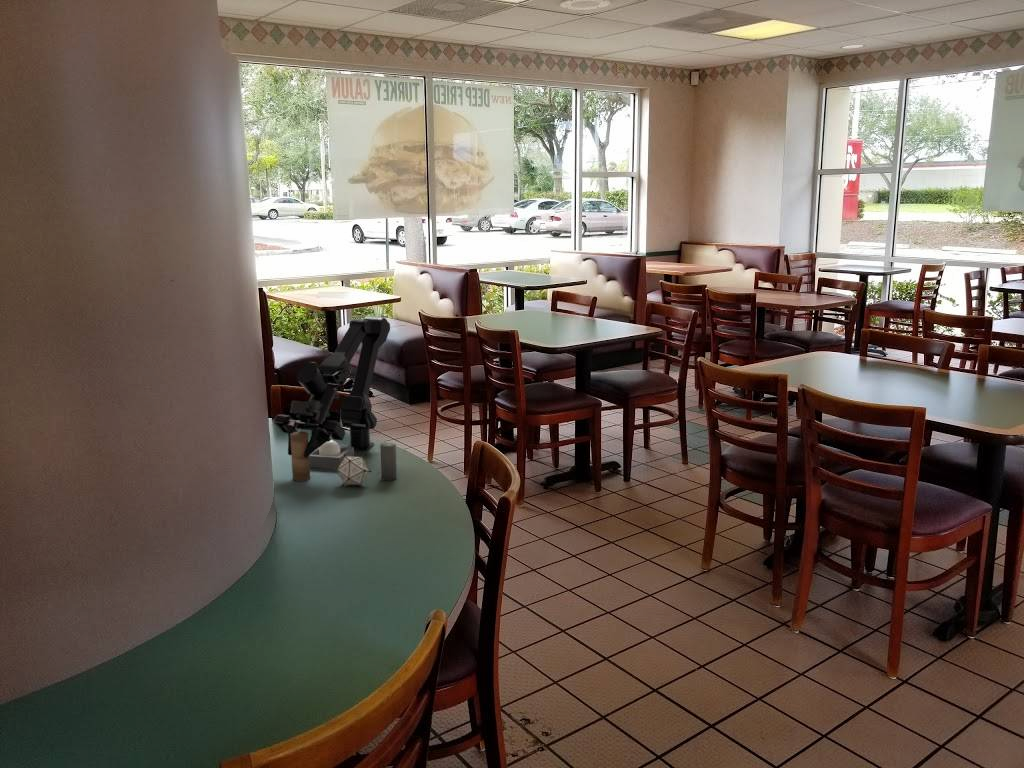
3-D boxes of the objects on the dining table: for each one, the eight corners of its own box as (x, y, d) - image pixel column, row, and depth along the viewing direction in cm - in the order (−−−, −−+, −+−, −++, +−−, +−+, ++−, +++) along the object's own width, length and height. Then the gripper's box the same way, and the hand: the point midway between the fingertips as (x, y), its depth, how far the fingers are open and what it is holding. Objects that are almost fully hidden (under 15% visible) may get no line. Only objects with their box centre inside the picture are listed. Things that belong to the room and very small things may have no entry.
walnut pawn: (297, 475, 217) (294, 431, 215) (313, 476, 216) (310, 432, 214) (289, 480, 213) (287, 435, 210) (305, 482, 212) (303, 436, 210)
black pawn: (384, 475, 218) (383, 442, 216) (398, 476, 217) (397, 443, 215) (379, 480, 214) (377, 446, 212) (393, 481, 213) (392, 447, 211)
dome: (324, 457, 231) (323, 436, 230) (343, 458, 230) (342, 437, 229) (316, 463, 225) (315, 442, 224) (335, 464, 224) (334, 443, 223)
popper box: (320, 455, 233) (319, 444, 233) (354, 458, 232) (353, 447, 231) (305, 466, 224) (304, 455, 223) (340, 469, 222) (339, 457, 221)
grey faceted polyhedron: (346, 498, 211) (328, 464, 213) (376, 483, 214) (358, 449, 216) (346, 492, 203) (328, 457, 205) (378, 476, 206) (359, 441, 207)
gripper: (275, 384, 216) (251, 436, 209) (337, 390, 210) (314, 444, 202) (295, 406, 225) (272, 457, 218) (354, 413, 219) (333, 465, 211)
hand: (297, 455), depth 212 cm, fingers closed on walnut pawn, 4 cm apart
